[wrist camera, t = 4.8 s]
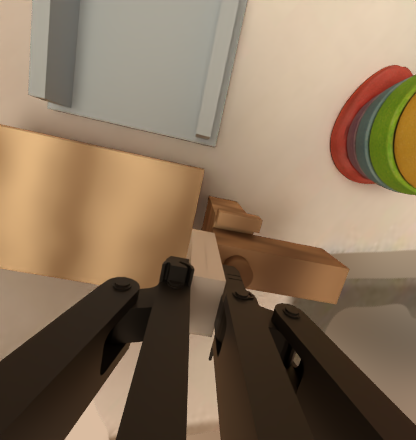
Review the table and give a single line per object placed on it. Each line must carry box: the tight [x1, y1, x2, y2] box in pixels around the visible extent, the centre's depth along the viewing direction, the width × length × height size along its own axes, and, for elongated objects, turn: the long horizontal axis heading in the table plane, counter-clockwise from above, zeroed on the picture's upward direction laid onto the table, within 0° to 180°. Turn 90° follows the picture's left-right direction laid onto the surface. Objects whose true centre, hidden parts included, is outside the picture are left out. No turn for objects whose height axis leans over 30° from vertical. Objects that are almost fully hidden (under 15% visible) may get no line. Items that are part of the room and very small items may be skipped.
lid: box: [0, 124, 204, 289], centre depth 19 cm, size 18×10×3 cm, turn 78°
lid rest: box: [28, 0, 247, 147], centre depth 21 cm, size 16×13×5 cm
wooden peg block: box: [211, 227, 349, 304], centre depth 17 cm, size 8×2×5 cm, turn 78°
